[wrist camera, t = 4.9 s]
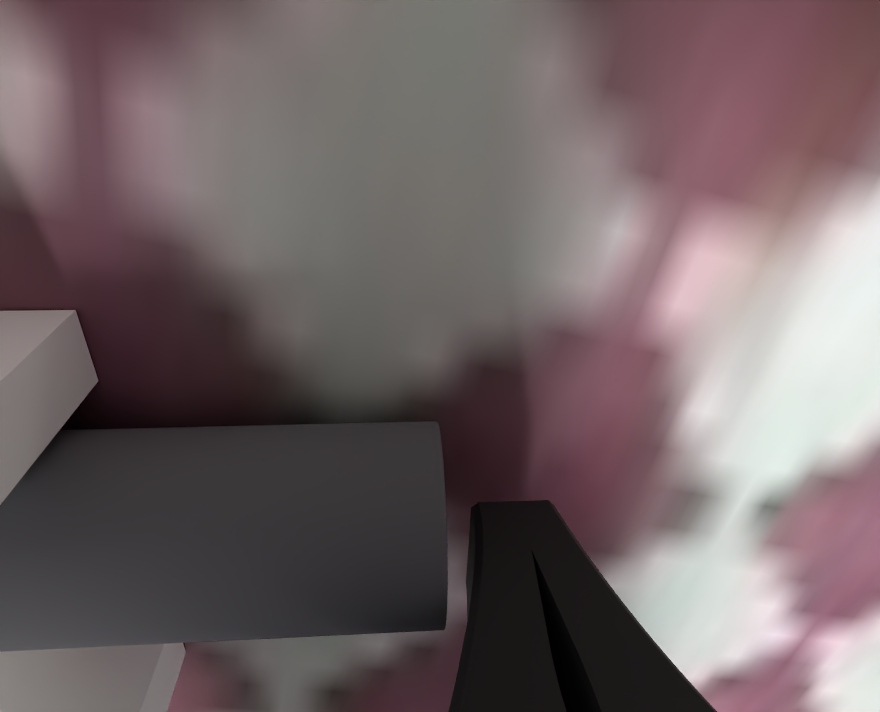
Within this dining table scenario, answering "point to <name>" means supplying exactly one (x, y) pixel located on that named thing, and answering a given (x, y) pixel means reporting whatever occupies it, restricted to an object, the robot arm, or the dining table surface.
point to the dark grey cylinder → (225, 535)
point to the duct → (3, 465)
